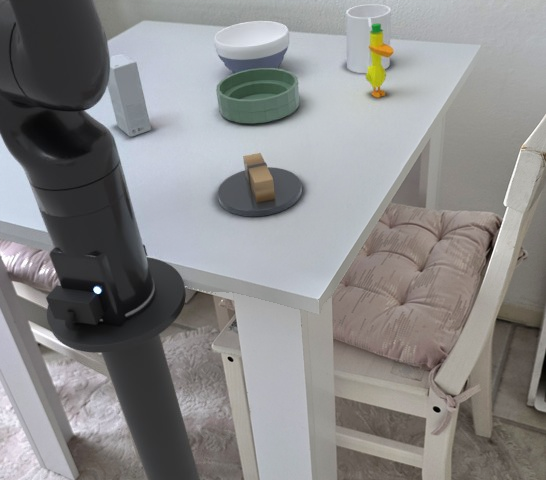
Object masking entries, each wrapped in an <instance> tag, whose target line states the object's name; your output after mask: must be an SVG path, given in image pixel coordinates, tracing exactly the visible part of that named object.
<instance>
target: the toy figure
mask: <svg viewBox="0 0 546 480" xmlns="http://www.w3.org/2000/svg"><path fill="white" fill-rule="evenodd" d="M371 26H372V31H370V46H369V48H370V50H371V59H372V65H371V67H369V66H368V73H365V79H366V81H367V82H368V83H369V84H370V85H371V87H372V90H373V91H372V92H371V95H372V97H374V98H377V99H378V98H381V97H385V96H386V92H385V90H383V89H381V86H382V85H383V83H384V82H385V80H386V77H387V73H386V69H385V70H384V68H383V67H382V65H381V59H382V56H384V57H390V58H391V56H392V55H394V48H393V47H392V46H391V45H390V46H388V45H386V44H384V43H383V33H382V31H383V30H382V29H381V24H373V25H371Z"/></svg>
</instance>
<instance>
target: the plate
mask: <svg viewBox="0 0 546 480" xmlns="http://www.w3.org/2000/svg"><path fill="white" fill-rule="evenodd" d="M267 168H268V170H269V172H270V174H271V176H272V178H273V183H274V193H275V199H274V200H269V201H264V202H259V203H257V201H256V199H255V197H254V194H253V192H252V189H250V186H249V182H248V180H247V177H246V174H245V169H244V170H241V171H238V172H236V173H234V174H232V175H230V176H228V177H227V178H226V179H224V181H222V182H221V184H220V185H219V187H218V189H217V197H218V202H219V204H220V206H221V207H222V208H223V209H224V210H226V211H227V212H228V213H231V214H234V215H237V216H242V217H252V218H253V217H266V216H271V215H275V214H279V213H281V212H283V211H286V210H287V209H289V208H291V207H292V206H293V205H295V204H296V203H297V202H298V201H299V199H300V198H301V196H302V193H303V192H302V191H303V190H302V189H303V188H302V182H301V179H300V178H299V177H298V176H297V175H296V174H295V173H293V172H292V171H290V170H287V169H285V168H279V167H273V166H271V167H270V166H267Z"/></svg>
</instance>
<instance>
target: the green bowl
mask: <svg viewBox="0 0 546 480" xmlns="http://www.w3.org/2000/svg"><path fill="white" fill-rule="evenodd" d="M299 91H300V90H299V79H298V76H297V75H296V74H295V73H294V72H291V71H289V70H286V69H282V68H278V69H277V68H257V69H249V70H245V71H240V72H237V73H235V74H233V73H232V74H229V75H227V76H226V77H224V78H222V79H221V80H220V81H219V82H218V83H217V84H216V89H215V92H216V99H217V105H218V111H219V113H220V115H221V116H222V117H223V118H224V119H227V120H228V121H230V122H235V123H239V124H263V123H269V122H273V121H276V120H280V119H282V118H284V117H287V116H290V115H291V114H292V113H294V112H295V111H296V110H297V109H298V108H299V106H300V104H301V103H300V92H299Z"/></svg>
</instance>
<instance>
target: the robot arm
mask: <svg viewBox="0 0 546 480" xmlns="http://www.w3.org/2000/svg"><path fill="white" fill-rule="evenodd" d="M108 43H109V42H108V39H107V35H106V32H105V28H104V25H103V22H102V20H101V16H100V15H99V11H98V9H97V7H96V4H95V1H94V0H0V137H1V140H2V142H3V144H4V146H5V147H6V149H7V151H8V152H9V154H10V155H11V156H12V157H13V159H14V160H15V161H16V162H17V163H18V165H20V166H21V168H22V169H23V171H24V174H25V177H26V179H27V181H28V183H29V185H30V188H31V191H32V194H33V196H34V199H35V202H36V205H37V208H38V210H39V213H40V215H41V218H42V221H43V223H44V226H45V229H46V231H47V234H48V237H49V240H50V242H51V245H52V249H51V250H50V251H49V258H50V260H51V263H52V266H53V268H54V271H55V274H56V276H57V280H58V282H59V284H60V285H58V284H56V285H55V286H54V287H53V289H52V290H51V291H50V292H49V293H48V294H47V296H46V297H45V299H46V302H47V305H48V304H49V307H50V309H51V312H52V314H53V316H54V319H60V320H65V326H66V328H67V329H68V330H70V331H76V330H78V331H79V330H80V329H81V324H80V323H87V324H94V325H97V324H103V325H110V326H117V327H121V326H123V324H124V323H125V322H126V321H127V320H128V319H131V318H133V317H135V316H137V315H138V314H140V313H141V312H143V311H144V310H145V309H146V308H147V307H148V306H149V305H150V304H151V303H152V301H153V300H154V297H155V294H156V288H155V284H154V280H153V278H152V276H151V273H150V269H149V265H148V261H147V258H148V252H147V249H146V245H145V244H144V243H143V239H142V236H141V233H140V228H139V225H138V222H137V217H136V214H135V210H134V207H133V201H132V199H131V195H130V192H129V187H128V185H127V180H126V175H125V173H124V168H123V165H122V161H121V158H120V154H119V150H118V146H117V142H116V140H115V137H114V135H113V134H112V132H111V131H110V130H109V128H108V127H106V126H105V125H104V124H103V123H101V122H100V121H98V120H97V119H96V118H94V117H93V116H92V115H90V114H89V113H88V112H87V110H90V109H91V108H93V107H95V106H96V105H97V104H98V103H99V102H100V101H101V100H102V98H103V96H104V95H105V93H106V92H107V89H108V86H107V85H108V82H109V75H110V57H111V55H110V49H109V45H108ZM146 257H147V258H146ZM73 322H80V323H73Z"/></svg>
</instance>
